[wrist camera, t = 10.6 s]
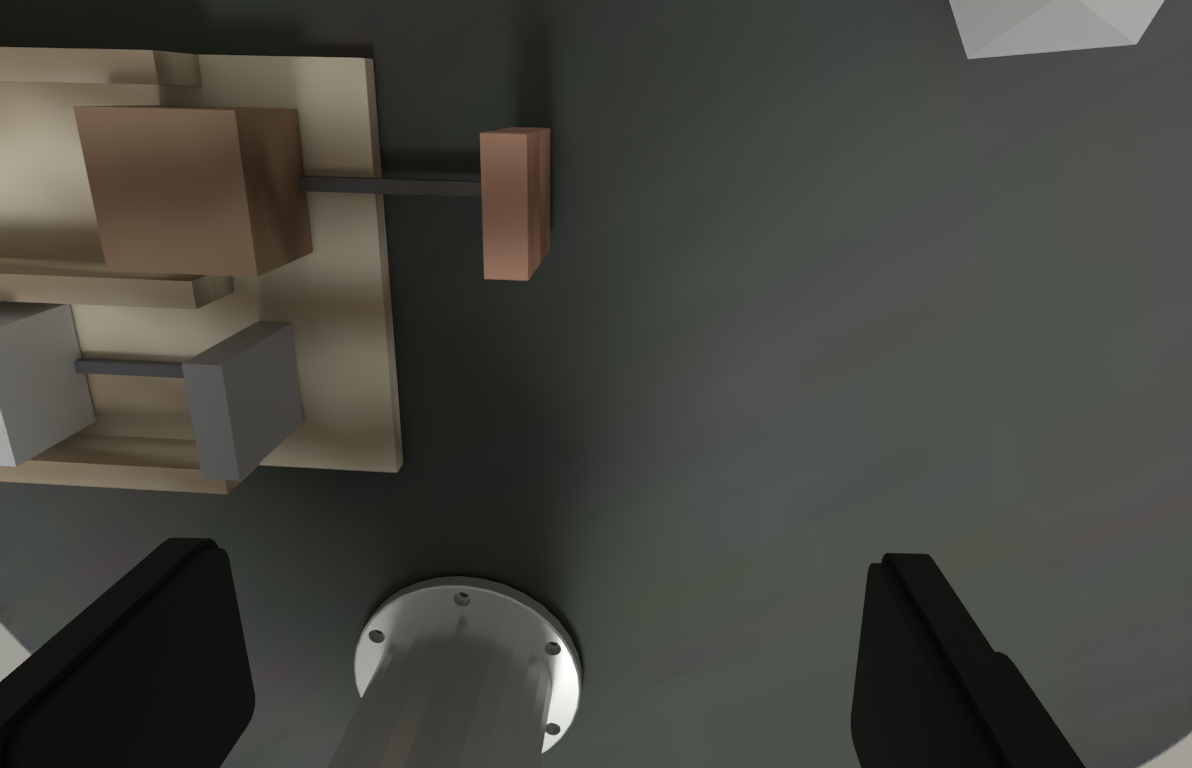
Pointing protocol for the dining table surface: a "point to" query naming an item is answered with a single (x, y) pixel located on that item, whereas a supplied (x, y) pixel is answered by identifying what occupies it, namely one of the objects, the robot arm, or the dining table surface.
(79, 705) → the robot arm
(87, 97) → the lane shelf
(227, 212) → the walnut block
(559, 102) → the dining table surface
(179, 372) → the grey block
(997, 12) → the die
